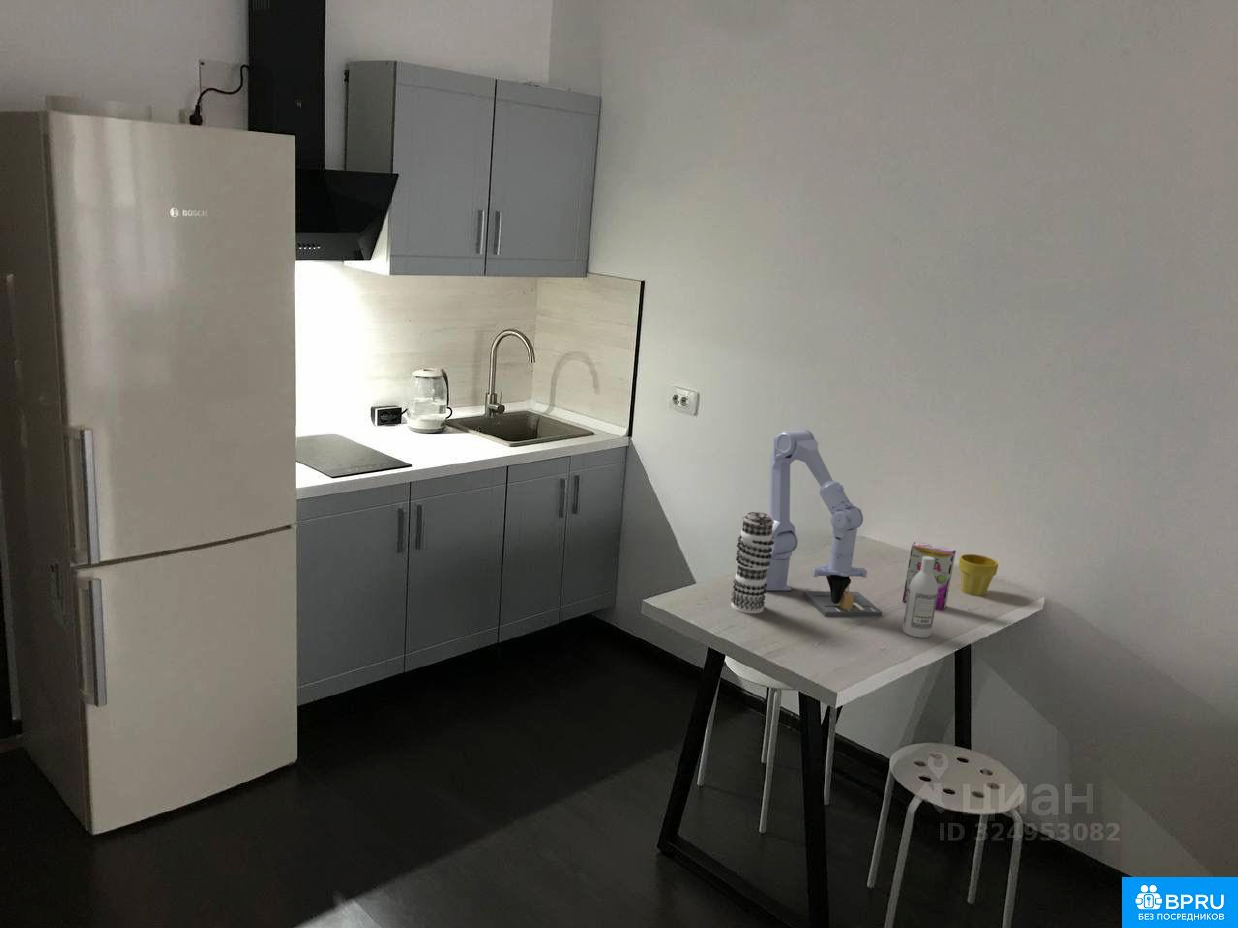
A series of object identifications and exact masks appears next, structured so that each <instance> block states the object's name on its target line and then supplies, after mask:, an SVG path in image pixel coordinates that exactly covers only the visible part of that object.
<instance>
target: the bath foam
mask: <svg viewBox="0 0 1238 928" xmlns="http://www.w3.org/2000/svg"><path fill="white" fill-rule="evenodd" d="M934 561H935V559H934V558H933V557H930V556H923V558H922V563H921V570H920V571H919V572H918V573H917V574H916V575H915V576H914V578H913V579H912V581H911V583H910V586H909V591H908V597H907V602H906V605H905V609H904V610H905V611H904V616H903V623H902V624H903V625H902V631H903V632H904V634H906V635H907V634H908V636H910V637H914V638H917V637H918V639H926V638H929V637H930V636H931V634H932V628H933V624H934V619H935V611H936V609H935V607H936V601H937V595H938V585H937V581H936V579H935V577H934V575H933V567H934Z"/></svg>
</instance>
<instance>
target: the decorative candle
mask: <svg viewBox="0 0 1238 928" xmlns="http://www.w3.org/2000/svg"><path fill="white" fill-rule="evenodd" d="M741 519H742V526H741V527H742V528H741V530H740V535H739V536H738V537H737V545H736V547H737V548H738V550H737V551H736V557H735V561H736V562H735V563H736V564H737V567H736V568H737V571H736V573H735V578H734V580H733V586H732V588H733V591H732V592H731V595H732V597H731V604H730V606H731V608H732V609H734V610H735V611H738V612H740V613H745V614H760V613H762V612H764V609H765V607H764V606H765V603H766V602H765V600H766V595H765V594H766V593H767V590H766V589H765V588H766V587H767V584H766V579H767V577H766V573H767V568H769V565H770V562H769V561H768V559H769V558H771V554H770V552H772V549H771V548H770V547H769V546H770V545H773V544H774V542H773V541H772V540H771V539H773V538H774V537H772V527H773V524H774V521H773V520H771V518H770V516H769V514H768V513H767V514H766V513H765V512H758V511H751V512H748V513H747V514H746V516H744V517H743V516H742V518H741Z"/></svg>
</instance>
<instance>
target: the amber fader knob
mask: <svg viewBox="0 0 1238 928" xmlns="http://www.w3.org/2000/svg"><path fill="white" fill-rule="evenodd" d="M851 592H852V591H850V589H849V590H848V589H845V591H844V593H843V595H842V597H841V599H840V601H839V604H838V605H839V606H840V607H841V608H842V609H852V606H853V600H854V594H852V593H851Z"/></svg>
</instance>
